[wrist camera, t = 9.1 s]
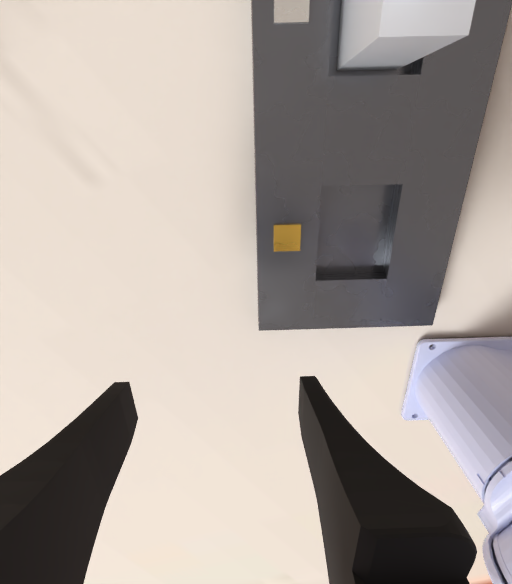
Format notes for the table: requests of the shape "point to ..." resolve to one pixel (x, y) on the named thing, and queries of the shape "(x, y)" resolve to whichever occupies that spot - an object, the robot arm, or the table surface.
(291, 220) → the panel
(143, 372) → the table surface
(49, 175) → the table surface
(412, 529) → the robot arm
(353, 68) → the plug
